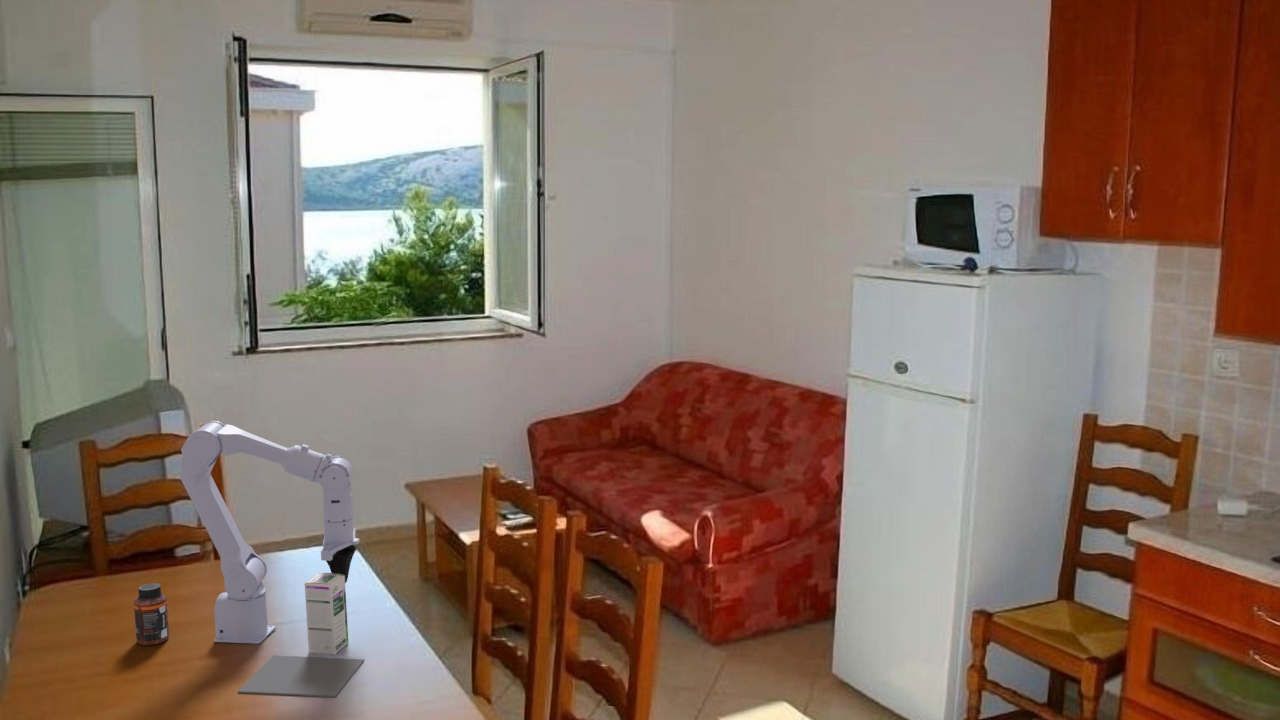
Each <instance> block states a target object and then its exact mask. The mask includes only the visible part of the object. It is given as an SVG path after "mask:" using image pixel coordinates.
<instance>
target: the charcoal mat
mask: <svg viewBox="0 0 1280 720" xmlns="http://www.w3.org/2000/svg"><path fill="white" fill-rule="evenodd" d="M364 662H365V659H364V658H340V657H323V656H321V657H319V656H296V655H275V654H273V655H272V656H271V657H270V658H269V659H268V660H267V661H266V662H265V663H264V664H263V665H262V666H261V667H260V668H259V669H258V670H257V671H256V672H255V673H254V674H253V675H252V676H251V677H250V678H249V679H248V681H246V682H245V683H244V684H243V685H242V686H241V687H240V688H239V689H238V691H237V693H238V694H255V695H259V694H260V695H278V696H296V697H297V696H298V697H299V696H301V697H317V698H318V697H319V698H323V697H324V698H336V697H338V695H339V693H341V691H342V690H343V689H344V687H345V686H346V685H347V684H348V682H349V681H350V679H352V677H353V676H354V674H355V673H356V672H357V670H358V669H359V668H360V667H361V666H362V664H363V663H364Z"/></svg>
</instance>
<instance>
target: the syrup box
mask: <svg viewBox="0 0 1280 720" xmlns="http://www.w3.org/2000/svg"><path fill="white" fill-rule="evenodd" d="M346 591H347V590H346V583H345V575H343V574H337V573H331V572H319V573H317V575H315V576H314V577H312V578H310V579H309V580H307V581H306V582H305V583H304V593H305V594H304V595H305V596H304V597H305V598H304V599H305V611H306V626H307V645H308V652H309V653H312V654H313V653H314V654H320V653H323V654H322V655H332V654H333V655H336V654H337V653H338V652H339V651H340V650H342V649H343V648H344V647H345V646H346V645H347V644H348V643H349V629H348V628H349V627H348V626H349V625H348V612H347V610H348V608H347V594H346ZM333 655H332V656H333Z"/></svg>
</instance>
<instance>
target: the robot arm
mask: <svg viewBox="0 0 1280 720" xmlns="http://www.w3.org/2000/svg"><path fill="white" fill-rule="evenodd" d="M309 448H310V446H309V445H307V444H304V443H303V444H302V445H298V444H295V445H293V446H291V447H286V446H284V445H281V444H279V443H275V442H274V441H273V442H272V441H271V440H268V439H266V438H263V437H261V436H258V435H256V434H254V433H251V432H248V431H246V430H244V429H241V428H239V427H237V426H235V425H232V424H228V423H227V424H224V423H223V422H221V421H218V420H211V421H207V422H205V423H204V424H202V425H201V426H200V427H199V428H198V429H197V430H196V431H193V432H192V433H191V434H189V436H188V437H187V438H186V440H185V442H184V444H183V445H182V447H181V449H180V451H181V455H182V456H181V464H180V474H179V476H180V480H181V483H182V484H183V487H184V489H185V490H186V492H187V494H188V496H189V498H190V500H191V502H192V504H193V507H195V511H197V513H198V516H199V517H200V519H201V521H202V524H203V525H204V528H205V529H206V531H207V533H208V536H209V537H210V539H211V541H212V543H213V546H214V547H215V549H216V550H217V552H218V555H219V557H220V558H219V559H220V571H221V573H222V575H223V583H224V590H225V591H224V592H221V593H220V594H219V595H218V596H217V598H216V600H215V604H214V610H213V611H214V627H215V629H214V630H215V638H214V642H215V643H230V644H231V643H233V644H255V645H259V644H261V643H263V641H264V640H265V639H266V638H267V637H268V636H269V635H270V634H272V632H273V631H275V629H277V628H276V625H268V608H267V606H268V605H267V592H266V591H267V589H266V586H264V584H263V580H264V578H265V577H266V575H267V572H268V570H267V568H268V567H267V564H266V561H265V560H264V559H263V558H262V557H261V556H259V555H257V553H256V552H255V550H254V549H253V547H252V546H251V545H250V544H248V543H246V542H245V540H244V538H243V535H242V534H241V531H240V530H239V528H238V526H237V524H236V522H235V520H234V518H233V516H232V514H231V512H230V510H229V508H228V506H227V504H226V503H225V500H224V499H223V496H222V494H221V493H220V490H219V489H218V486H217V484H216V482H215V480H214V478H213V476H212V474H211V472H212V470H213V468H214V466H215V464H216V462H217V459H218V457H219V456H220V455H221V456H222V457H224V458H225V457H227V456H231V455H235V454H238V453H239V454H240V453H243V454H246V455H250V456H252V457H256V458H260V459H264V460H266V461H270V462H273V463H277V464H279V465H281V467H282V468H283V470H284V472H285V473H287V474H290V475H293V476H296V477H298V478H302V479H303V480H307V481H310V482H313V483H318V484H319V485H320V486H321V488H322V490H323V491H322V512H323V513H322V517H323V542H322V549H321V550H320V559H321V561H325V562H326V563H327V565H328V567H329V570H330V573H337V574H343V575H345V584H346V583H347V582H348V578H349V572H350V569H351V568H350V567H351V563H352V560H353V558H354V554H355V552H356V550H357V546H356V545H358V544H359V543H360V538H359V537H358V538H357V528H356V527H354V509H353V495H352V485H351V484H352V483H351V479H352V477H353V472H354V469H353V465H352V463H351V462H350V461H349V460H348V459H347V458H345V457H343V456H342V455H335V456H333V455H332V454H330V453H327V454H323V453H320V452H317V451H315V450H312V449H309Z"/></svg>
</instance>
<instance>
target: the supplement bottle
mask: <svg viewBox="0 0 1280 720" xmlns="http://www.w3.org/2000/svg"><path fill="white" fill-rule="evenodd" d="M161 587H162V586H161V584H160V583H156V582H155V583H154V582H153V583H151V582H150V583H145V584H143V585H140V586H139V587H138V596H137V597H136V598H135V599H134V602H133V608H134V610H133V611H134V621H135V623H134V624H135V634H136V643H137V644H139V645H142V646H155V645H159V644H162V643H164V642H166V641H167V640H168V639H169V638H170V637H169V636H170V629H169V627H170V626H169V614H168V613H169V611H168V599H167V595H165V594H164V593H163V592H162V589H161Z"/></svg>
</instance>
